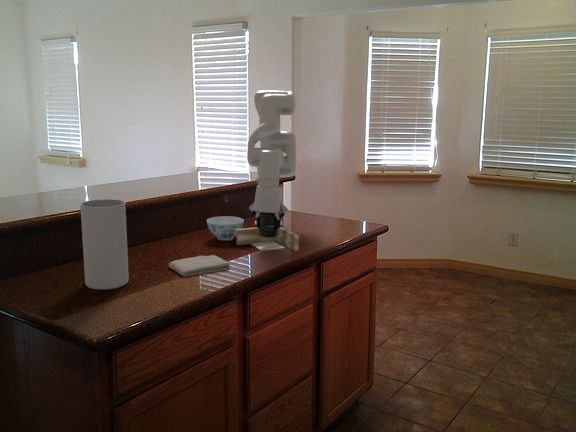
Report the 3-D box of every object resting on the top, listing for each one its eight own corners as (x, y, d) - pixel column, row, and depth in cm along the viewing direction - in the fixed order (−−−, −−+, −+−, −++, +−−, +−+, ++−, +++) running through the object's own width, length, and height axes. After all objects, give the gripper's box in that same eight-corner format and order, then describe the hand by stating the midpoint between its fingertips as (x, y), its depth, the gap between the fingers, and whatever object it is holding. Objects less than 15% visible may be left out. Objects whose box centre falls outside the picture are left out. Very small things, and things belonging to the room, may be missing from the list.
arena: (236, 244, 208) (236, 229, 207) (277, 239, 216) (277, 225, 215) (254, 256, 192) (255, 240, 191) (298, 250, 200) (298, 235, 199)
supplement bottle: (269, 238, 200) (269, 207, 197) (255, 236, 204) (256, 205, 201) (280, 235, 205) (281, 205, 203) (267, 232, 209) (267, 203, 207)
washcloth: (232, 269, 178) (232, 260, 178) (183, 279, 168) (183, 269, 167) (215, 260, 188) (215, 252, 187) (168, 269, 177) (167, 260, 177)
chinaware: (246, 234, 223) (246, 217, 221) (239, 244, 208) (240, 225, 207) (211, 233, 224) (211, 215, 223) (202, 242, 210) (202, 223, 208)
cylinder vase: (113, 274, 169) (109, 197, 164) (137, 283, 162) (133, 203, 156) (77, 283, 160) (72, 203, 155) (100, 293, 152) (95, 209, 147)
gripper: (244, 182, 199) (243, 228, 203) (287, 185, 194) (286, 232, 198) (251, 180, 206) (251, 224, 210) (293, 182, 201) (292, 228, 205)
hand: (268, 228), depth 204 cm, fingers closed on supplement bottle, 6 cm apart
